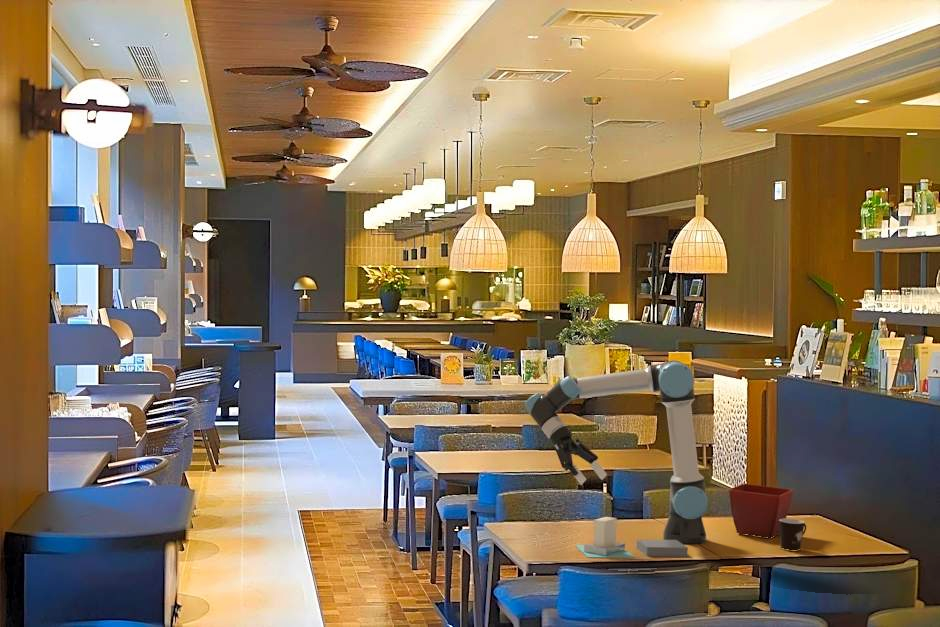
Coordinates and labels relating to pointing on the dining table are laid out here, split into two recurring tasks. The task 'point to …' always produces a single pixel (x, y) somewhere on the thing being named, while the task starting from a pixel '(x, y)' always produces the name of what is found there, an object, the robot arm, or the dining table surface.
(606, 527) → the block
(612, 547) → the holder
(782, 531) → the coffee mug
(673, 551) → the plate
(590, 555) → the mat
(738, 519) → the plant pot
